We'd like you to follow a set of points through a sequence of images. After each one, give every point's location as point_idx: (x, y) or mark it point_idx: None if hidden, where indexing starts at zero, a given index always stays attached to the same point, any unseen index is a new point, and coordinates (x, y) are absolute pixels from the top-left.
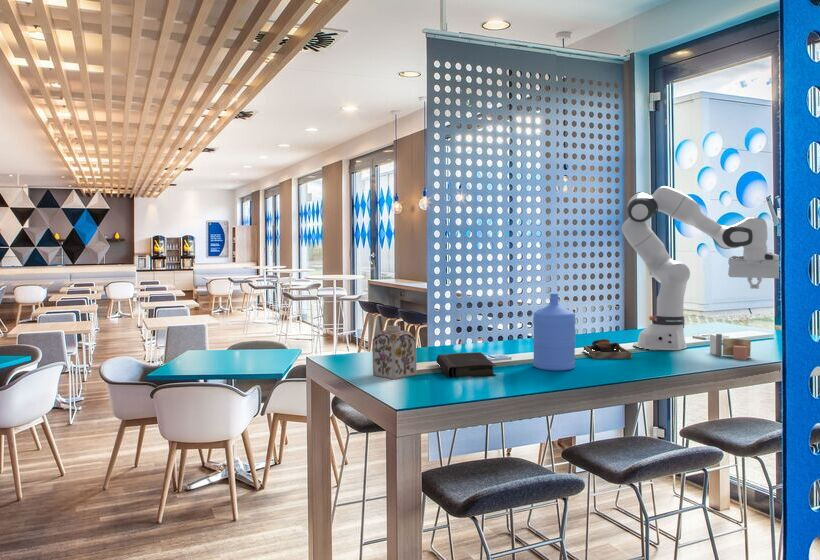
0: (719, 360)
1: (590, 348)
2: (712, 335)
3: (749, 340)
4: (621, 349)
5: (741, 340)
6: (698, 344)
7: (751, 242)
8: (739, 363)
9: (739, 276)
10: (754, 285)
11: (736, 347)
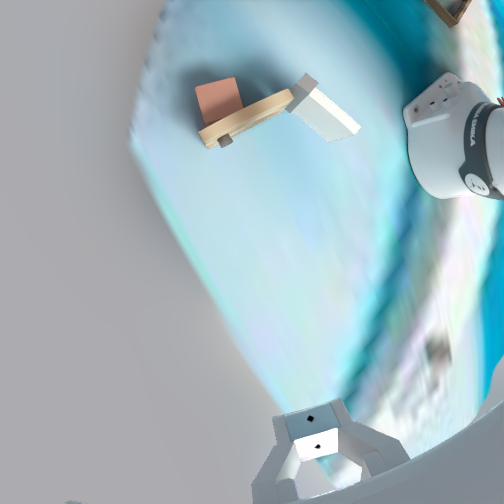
0: (243, 38)
1: (465, 1)
2: (343, 112)
3: (202, 130)
4: (435, 2)
5: (228, 116)
6: (417, 261)
7: None
8: (181, 39)
9: (492, 415)
10: (309, 427)
11: (223, 80)
